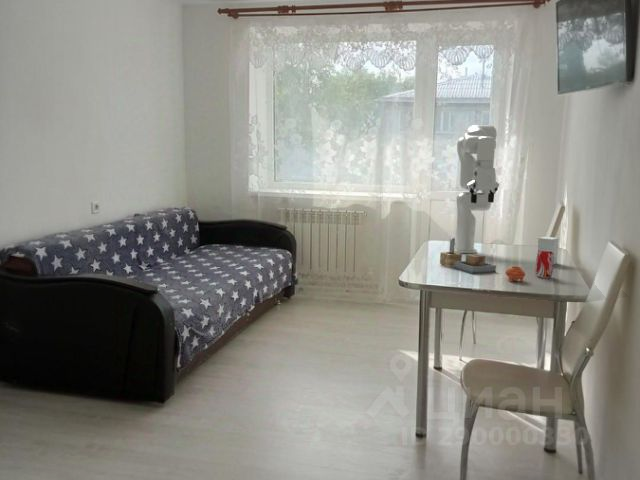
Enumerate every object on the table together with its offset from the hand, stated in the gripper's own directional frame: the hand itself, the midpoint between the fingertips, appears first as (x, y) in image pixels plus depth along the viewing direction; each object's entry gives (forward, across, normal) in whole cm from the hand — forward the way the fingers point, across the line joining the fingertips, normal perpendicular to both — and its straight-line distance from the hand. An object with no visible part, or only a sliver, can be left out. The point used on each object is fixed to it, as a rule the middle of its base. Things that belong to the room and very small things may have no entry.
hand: (482, 202), depth 268 cm
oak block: (+31, -9, +8) cm, 33 cm away
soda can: (+30, +15, -26) cm, 42 cm away
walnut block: (+29, -5, -4) cm, 30 cm away
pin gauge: (+30, -9, +8) cm, 32 cm away
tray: (+30, -5, -4) cm, 31 cm away
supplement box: (+31, +40, -3) cm, 50 cm away
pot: (+30, -3, -28) cm, 41 cm away
